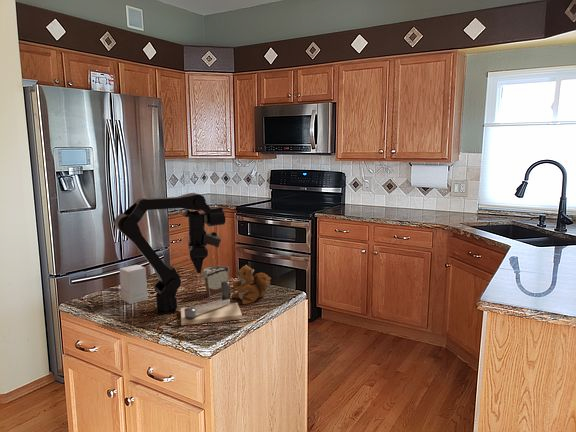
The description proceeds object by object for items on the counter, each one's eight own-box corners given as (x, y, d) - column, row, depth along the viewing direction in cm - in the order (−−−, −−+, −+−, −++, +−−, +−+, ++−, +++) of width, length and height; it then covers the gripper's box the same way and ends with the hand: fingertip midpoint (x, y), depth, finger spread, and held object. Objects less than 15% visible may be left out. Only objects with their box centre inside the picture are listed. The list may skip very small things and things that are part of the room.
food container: (220, 287, 185) (219, 263, 183) (230, 290, 181) (229, 266, 179) (196, 295, 175) (195, 270, 174) (206, 298, 171) (205, 273, 170)
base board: (181, 325, 146) (181, 320, 146) (180, 312, 158) (180, 307, 157) (242, 319, 151) (242, 314, 151) (237, 306, 162) (237, 302, 162)
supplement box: (148, 299, 171) (146, 267, 169) (129, 304, 166) (127, 271, 164) (139, 295, 176) (137, 264, 174) (121, 299, 171) (118, 268, 169)
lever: (189, 319, 146) (187, 296, 145) (182, 317, 148) (181, 293, 147) (232, 304, 160) (231, 282, 159) (226, 301, 162) (225, 280, 161)
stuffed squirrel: (229, 297, 172) (228, 264, 170) (263, 291, 178) (262, 259, 176) (238, 305, 163) (237, 271, 161) (273, 299, 170) (273, 265, 167)
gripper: (221, 231, 154) (223, 275, 157) (216, 222, 172) (218, 261, 175) (188, 233, 152) (190, 277, 154) (187, 223, 170) (189, 263, 172)
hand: (198, 269), depth 164 cm, fingers open, 9 cm apart
